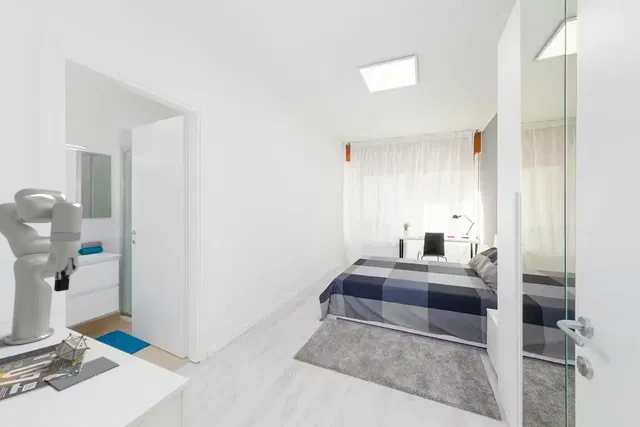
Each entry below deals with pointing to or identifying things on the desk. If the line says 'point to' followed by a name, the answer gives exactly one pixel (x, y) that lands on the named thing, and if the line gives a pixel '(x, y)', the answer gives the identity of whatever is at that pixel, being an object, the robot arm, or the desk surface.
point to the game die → (71, 348)
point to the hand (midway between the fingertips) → (61, 290)
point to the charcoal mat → (85, 372)
